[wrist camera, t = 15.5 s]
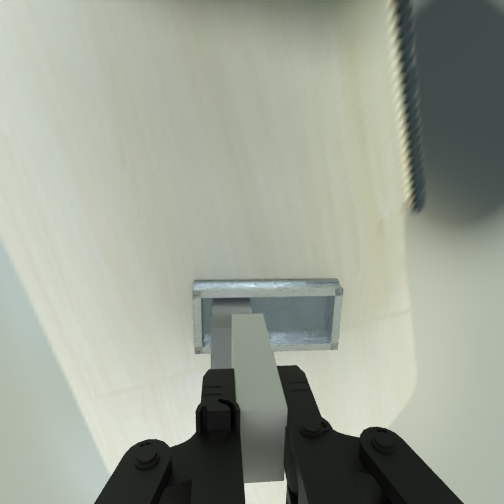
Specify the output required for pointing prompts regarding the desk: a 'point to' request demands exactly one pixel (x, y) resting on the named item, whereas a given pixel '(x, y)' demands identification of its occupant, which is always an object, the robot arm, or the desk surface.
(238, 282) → the shallow grey tray
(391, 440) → the robot arm
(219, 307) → the block
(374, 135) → the desk surface
